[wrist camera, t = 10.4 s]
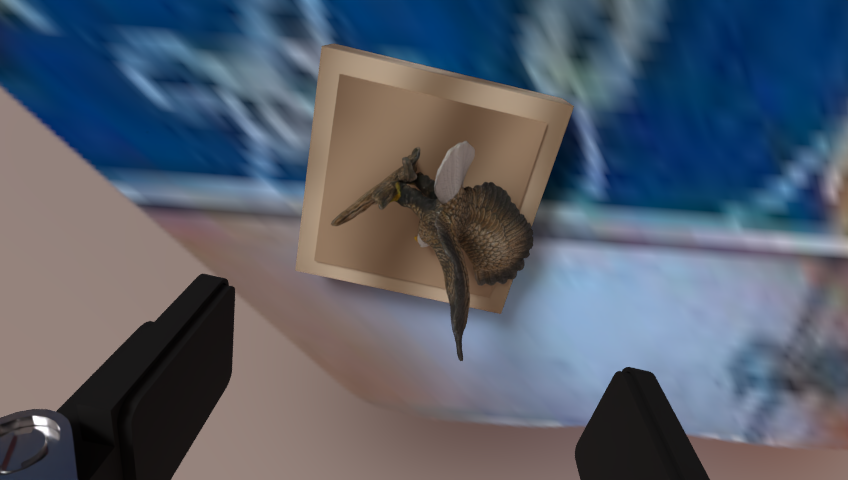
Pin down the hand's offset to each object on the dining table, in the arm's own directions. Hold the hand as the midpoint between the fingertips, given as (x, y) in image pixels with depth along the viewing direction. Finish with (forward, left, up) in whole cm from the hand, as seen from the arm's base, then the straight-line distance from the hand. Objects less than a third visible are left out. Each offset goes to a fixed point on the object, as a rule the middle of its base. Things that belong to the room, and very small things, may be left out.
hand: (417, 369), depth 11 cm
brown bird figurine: (-1, +2, -14) cm, 14 cm away
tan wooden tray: (0, +1, -17) cm, 16 cm away
